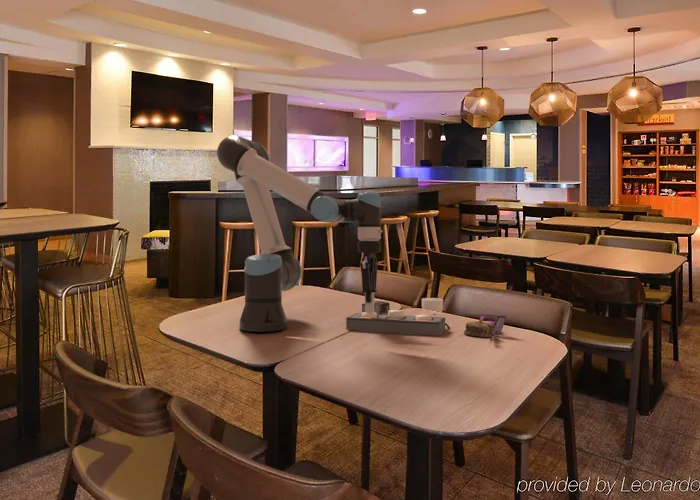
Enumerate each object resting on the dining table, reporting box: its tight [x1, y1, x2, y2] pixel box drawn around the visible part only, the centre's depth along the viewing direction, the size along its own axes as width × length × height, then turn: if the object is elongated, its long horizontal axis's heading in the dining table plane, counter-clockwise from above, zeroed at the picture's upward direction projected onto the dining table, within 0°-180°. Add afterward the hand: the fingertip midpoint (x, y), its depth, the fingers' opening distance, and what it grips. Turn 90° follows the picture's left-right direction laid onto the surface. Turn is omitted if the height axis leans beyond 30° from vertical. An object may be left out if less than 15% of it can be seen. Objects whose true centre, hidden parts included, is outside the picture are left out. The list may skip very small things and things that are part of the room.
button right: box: [415, 314, 433, 321], centre depth 175 cm, size 5×5×3 cm
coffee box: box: [361, 300, 391, 314], centre depth 201 cm, size 9×6×16 cm
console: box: [345, 312, 446, 337], centre depth 178 cm, size 30×11×4 cm, turn 71°
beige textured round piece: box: [463, 318, 498, 338], centre depth 170 cm, size 10×10×5 cm
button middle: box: [387, 309, 405, 320], centre depth 178 cm, size 5×5×3 cm
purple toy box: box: [478, 313, 508, 335], centre depth 177 cm, size 7×5×9 cm
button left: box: [361, 312, 377, 318], centre depth 181 cm, size 5×5×3 cm
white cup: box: [421, 297, 444, 313], centre depth 206 cm, size 8×8×10 cm
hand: (369, 312), depth 181 cm, fingers closed
